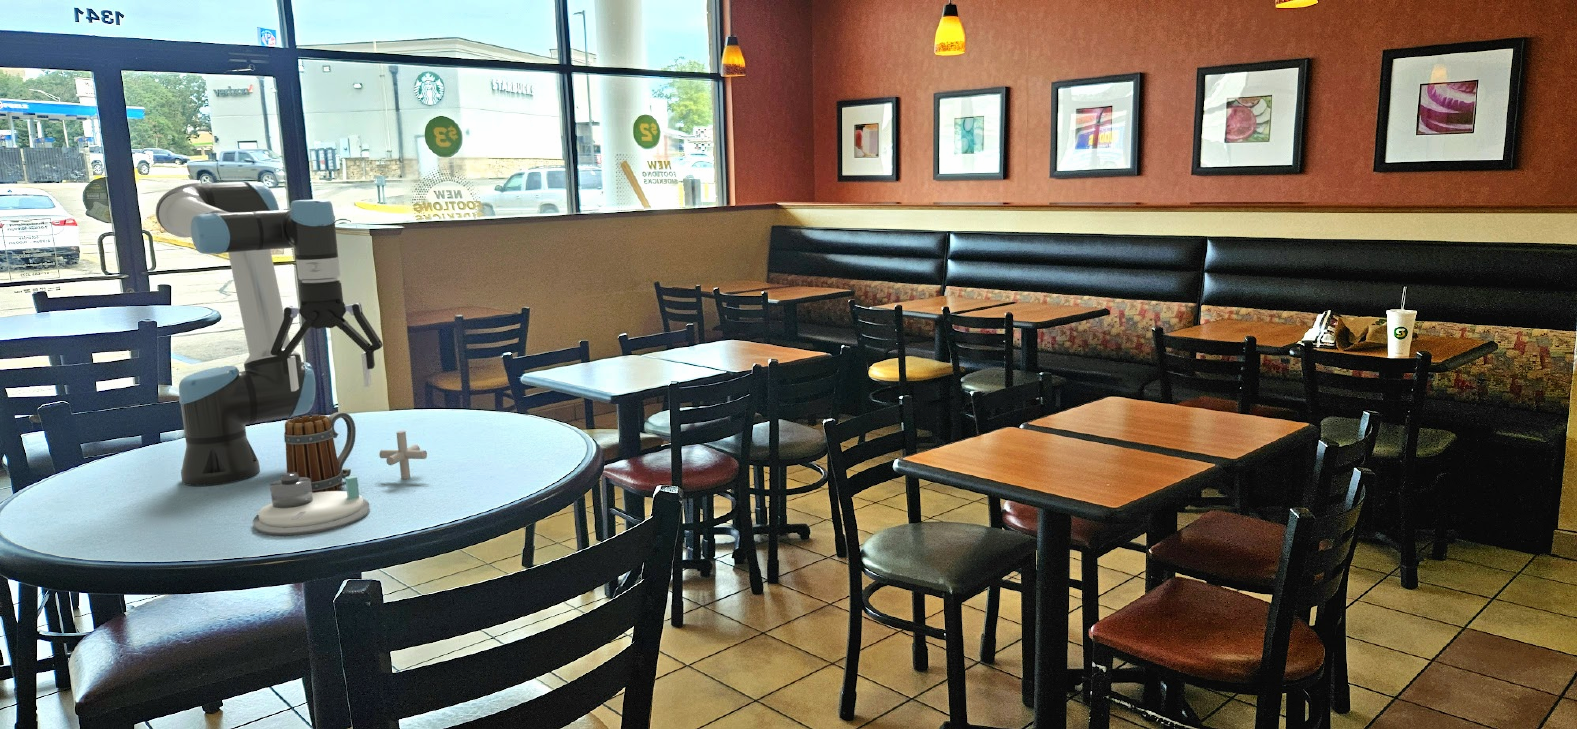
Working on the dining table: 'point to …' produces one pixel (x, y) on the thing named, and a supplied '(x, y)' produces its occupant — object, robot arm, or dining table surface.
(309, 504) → the turntable
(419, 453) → the pipe connector
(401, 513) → the dining table surface
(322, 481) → the mug
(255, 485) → the dining table surface
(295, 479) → the cover
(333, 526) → the turntable base
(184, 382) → the robot arm
